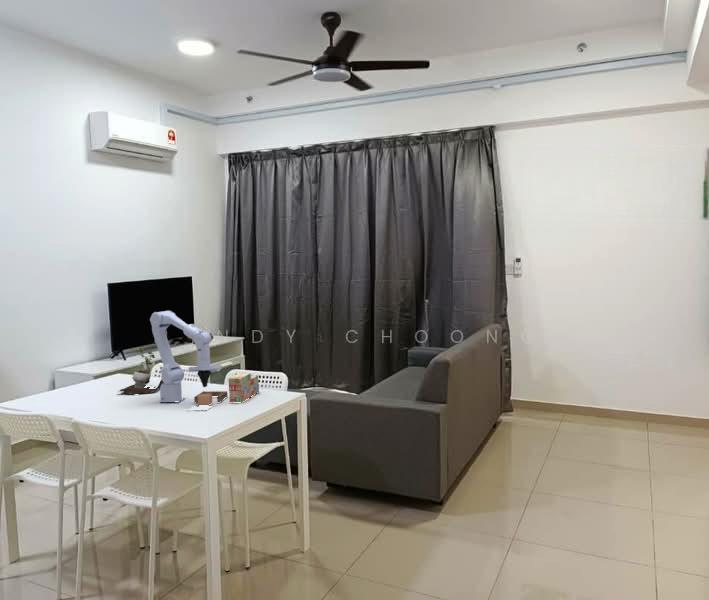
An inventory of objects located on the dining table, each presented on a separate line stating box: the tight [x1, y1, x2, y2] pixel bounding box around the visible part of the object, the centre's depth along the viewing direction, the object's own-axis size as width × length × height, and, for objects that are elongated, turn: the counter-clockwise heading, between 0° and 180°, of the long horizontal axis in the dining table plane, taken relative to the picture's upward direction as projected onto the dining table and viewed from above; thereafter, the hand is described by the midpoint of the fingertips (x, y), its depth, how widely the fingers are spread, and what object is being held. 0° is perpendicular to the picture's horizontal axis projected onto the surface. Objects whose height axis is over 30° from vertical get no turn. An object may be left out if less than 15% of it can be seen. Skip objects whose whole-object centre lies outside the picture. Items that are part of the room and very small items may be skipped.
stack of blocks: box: [228, 372, 260, 404], centre depth 272 cm, size 21×6×12 cm, turn 167°
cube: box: [197, 393, 213, 406], centre depth 260 cm, size 5×5×5 cm
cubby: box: [193, 390, 228, 403], centre depth 270 cm, size 12×11×3 cm
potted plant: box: [119, 347, 164, 395], centre depth 296 cm, size 20×19×25 cm
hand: (205, 386), depth 262 cm, fingers closed
